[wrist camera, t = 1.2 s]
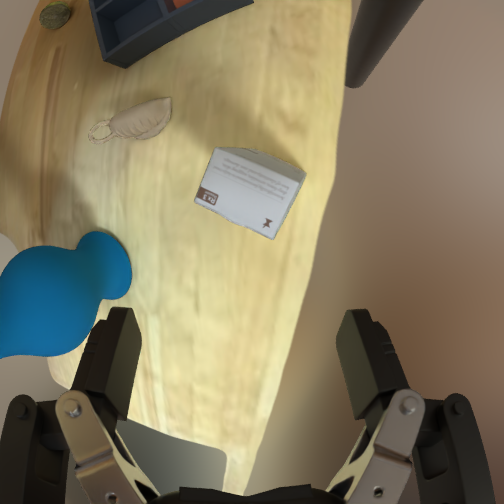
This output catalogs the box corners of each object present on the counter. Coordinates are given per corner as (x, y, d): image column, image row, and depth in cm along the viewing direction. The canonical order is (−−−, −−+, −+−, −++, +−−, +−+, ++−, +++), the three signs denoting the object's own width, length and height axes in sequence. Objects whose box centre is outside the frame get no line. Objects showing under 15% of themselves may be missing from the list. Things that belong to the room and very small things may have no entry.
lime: (79, 6, 25) (58, -3, 21) (63, 32, 27) (41, 25, 22) (65, 5, 25) (45, -3, 21) (50, 30, 27) (29, 24, 22)
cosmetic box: (308, 171, 28) (307, 180, 17) (289, 211, 30) (276, 244, 19) (252, 146, 29) (215, 140, 17) (235, 186, 30) (191, 204, 19)
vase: (66, 224, 36) (-97, 300, 10) (133, 219, 34) (-78, 327, 8) (83, 300, 40) (-47, 404, 14) (149, 308, 37) (5, 459, 11)
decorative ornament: (176, 130, 30) (152, 126, 25) (116, 147, 31) (88, 148, 26) (172, 96, 28) (148, 88, 23) (113, 117, 30) (85, 114, 25)
